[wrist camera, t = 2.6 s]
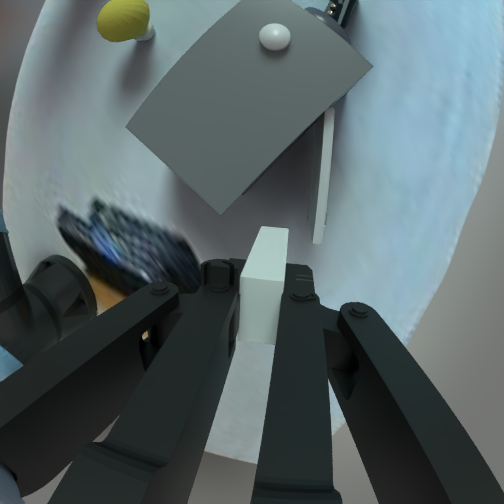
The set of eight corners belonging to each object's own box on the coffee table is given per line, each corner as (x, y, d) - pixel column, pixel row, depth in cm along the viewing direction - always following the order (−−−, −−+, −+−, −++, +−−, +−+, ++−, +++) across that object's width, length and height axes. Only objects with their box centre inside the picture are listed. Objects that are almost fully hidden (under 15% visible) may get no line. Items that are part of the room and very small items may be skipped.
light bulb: (160, 7, 26) (125, -22, 17) (176, 36, 28) (141, 8, 19) (121, 32, 28) (81, 12, 19) (135, 62, 30) (92, 45, 21)
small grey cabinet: (244, 193, 35) (218, 218, 23) (175, 131, 33) (120, 126, 21) (357, 83, 28) (390, 51, 16) (284, 21, 26) (278, -32, 14)
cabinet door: (319, 219, 33) (328, 245, 25) (307, 218, 33) (312, 243, 25) (328, 120, 29) (341, 109, 20) (315, 119, 29) (325, 107, 20)
